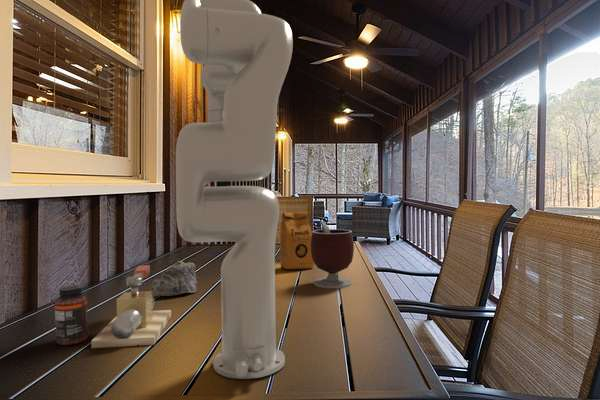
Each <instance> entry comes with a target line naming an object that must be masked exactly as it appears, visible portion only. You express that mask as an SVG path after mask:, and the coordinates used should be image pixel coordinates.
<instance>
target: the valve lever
mask: <svg viewBox="0 0 600 400" xmlns="http://www.w3.org/2000/svg"><path fill="white" fill-rule="evenodd" d="M150 267H151V265H150V264H148V265H138V266H137V267H136V268H135V270H134V272H133V276H128V277H126V287H129V288H131V287H133V286H142V285H143V279H146V278H147V277H148V276H149V275H150V272H151V270H150V269H151V268H150Z"/></svg>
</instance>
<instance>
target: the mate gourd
mask: <svg viewBox="0 0 600 400" xmlns="http://www.w3.org/2000/svg"><path fill="white" fill-rule="evenodd" d="M319 223H320V224H321V228H322V229H316V230H311V233H312V238H311V255H312V259H313V262H314V266H316V268H318V269H319V270H322V271H324V272H325V273H328V274H327V277H323V278H317V279H315V280H314V281H313V285H314V286H315V287H317V288H323V289H342V288H343V289H345V288H348V287H350V286H352V280H350V279H348V278H342V277H341V278H340V277H339V276H338V273H339V272H341V271H343V270H346V269H348V268H349V266H350V264H352V262H353V259H354V252H355V251H354V250H355V249H354V248H355V245H354V244H355V242H354V236H353V231H352V230H350V229H340V228H339V229H338V228H337V229H336V228H334V229H333V228H330V227H329V226H328V225H327V223H325V222H324V220H320V221H319Z"/></svg>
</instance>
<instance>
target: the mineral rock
mask: <svg viewBox="0 0 600 400" xmlns="http://www.w3.org/2000/svg"><path fill="white" fill-rule="evenodd" d="M196 270H197V269H196V264H195V263H194V262H191V261H189V262H184V261H182V260H177V261H176V262H175V263H173V264H172V265H171V266H170V267H169V268H167V269H166V270H164V271H163V272H162V273H161V274H160V275H159V276H158V277H157V278H156V279H154V280H153V281H152V282H151V283H150V285H151V290H150V291H152V296H161V297H163V296H166V297H174V296H175V297H176V296H178V295H181V294H195V293H197V292H198V290H199V286H198V285H199V284H198V281H197V272H196Z"/></svg>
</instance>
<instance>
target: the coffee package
mask: <svg viewBox="0 0 600 400" xmlns="http://www.w3.org/2000/svg"><path fill="white" fill-rule="evenodd" d="M312 233H313V232H312V229H311V225H310V220H309V212H308V211H300V212H282V214H281V223H280V232H279V234H280V235H279V238H280V239H279V240H280V243H279V248H280V249H279V250H280V257H279V258H280V268H282V269H285V270H293V271H294V270H295V271H296V270H306V269H314V266H315V263H314V262H313V259H312V255H311V238H312Z"/></svg>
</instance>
